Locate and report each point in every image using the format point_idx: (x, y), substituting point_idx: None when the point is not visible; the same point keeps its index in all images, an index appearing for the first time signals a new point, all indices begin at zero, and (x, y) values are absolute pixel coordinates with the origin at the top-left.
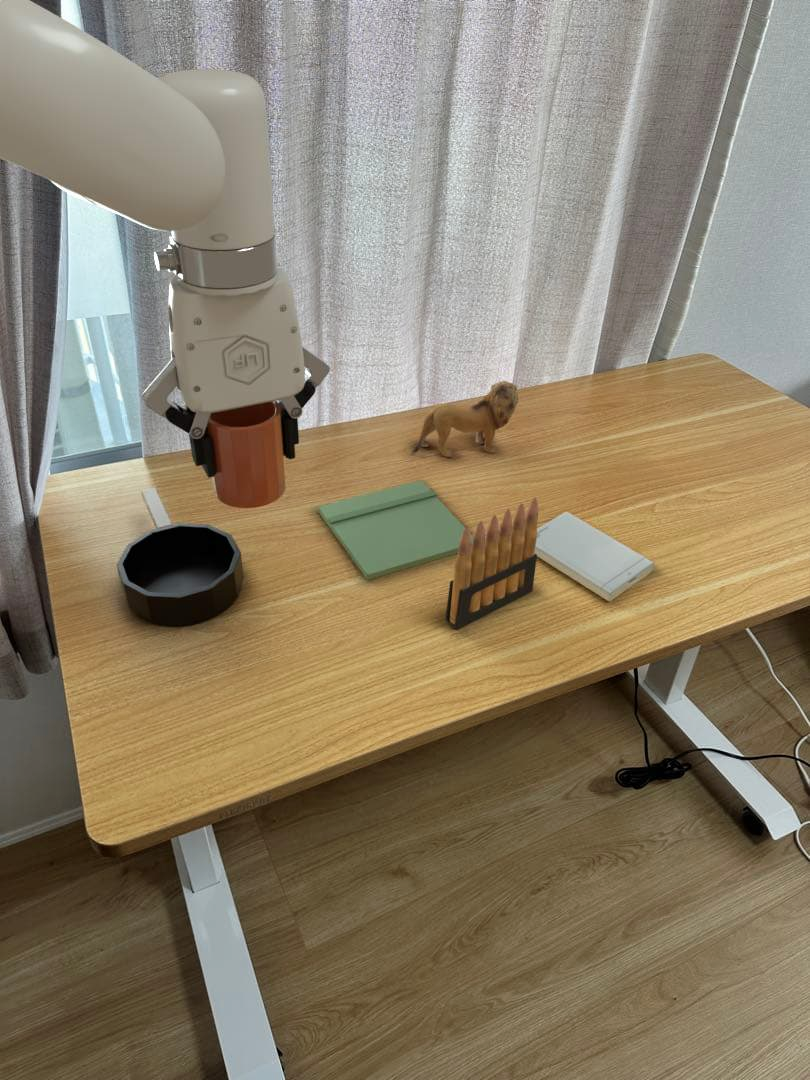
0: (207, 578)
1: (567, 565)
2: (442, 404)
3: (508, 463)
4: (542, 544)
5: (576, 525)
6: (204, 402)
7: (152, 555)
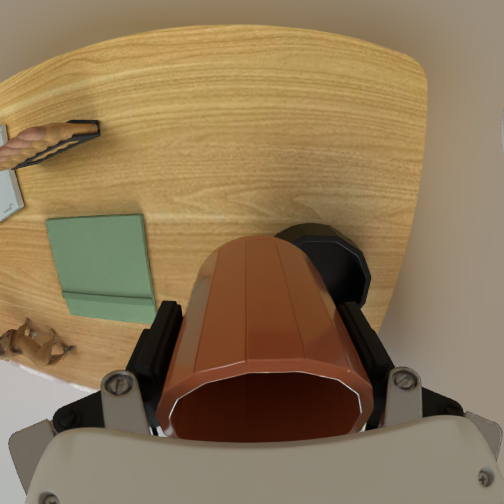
0: None
1: None
2: (40, 367)
3: (19, 302)
4: (10, 193)
5: None
6: (456, 444)
7: None
